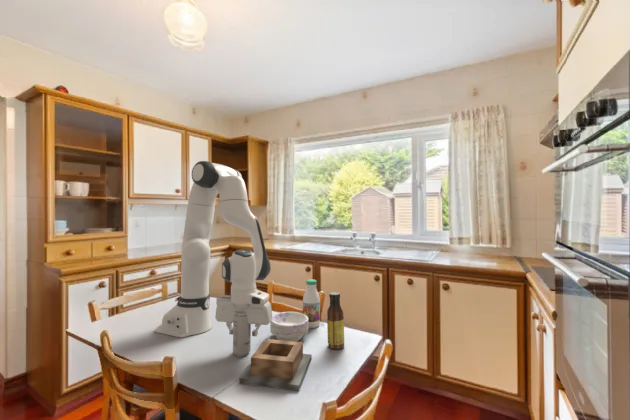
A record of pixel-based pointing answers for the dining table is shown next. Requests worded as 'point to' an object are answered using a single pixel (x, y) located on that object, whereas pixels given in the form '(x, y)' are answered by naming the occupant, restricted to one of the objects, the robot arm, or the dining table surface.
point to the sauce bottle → (335, 322)
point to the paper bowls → (289, 326)
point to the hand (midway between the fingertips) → (243, 334)
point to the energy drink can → (241, 334)
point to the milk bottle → (311, 304)
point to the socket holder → (277, 365)
